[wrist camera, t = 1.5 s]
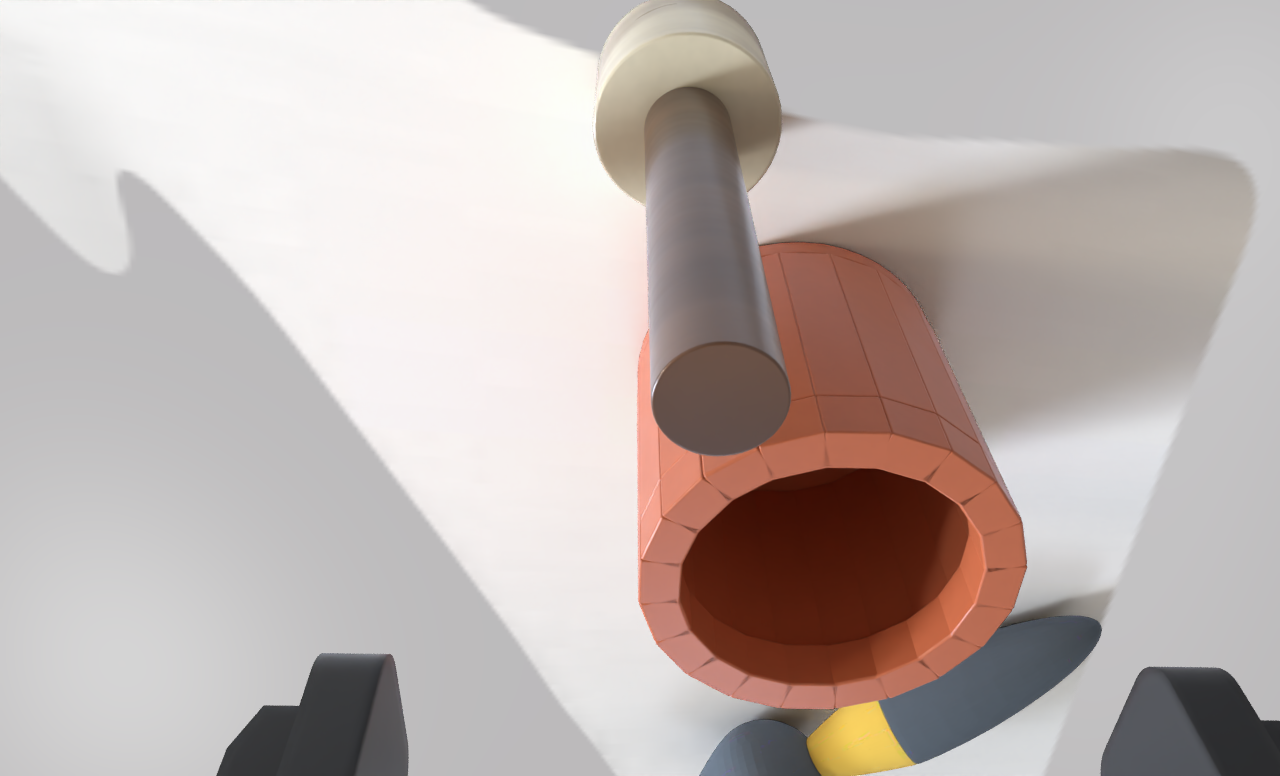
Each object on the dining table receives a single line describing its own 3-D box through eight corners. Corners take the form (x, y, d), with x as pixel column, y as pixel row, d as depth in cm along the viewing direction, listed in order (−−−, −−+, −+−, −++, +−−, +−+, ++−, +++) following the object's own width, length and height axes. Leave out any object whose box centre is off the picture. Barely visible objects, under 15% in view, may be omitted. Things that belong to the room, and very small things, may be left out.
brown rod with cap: (597, -11, 28) (564, 261, 15) (773, -7, 28) (899, 268, 15) (597, 157, 30) (569, 515, 17) (757, 161, 31) (852, 520, 17)
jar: (641, 237, 32) (644, 428, 24) (959, 244, 32) (1071, 436, 24) (634, 484, 38) (634, 707, 29) (904, 488, 38) (980, 711, 30)
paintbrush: (1048, 547, 40) (1096, 647, 35) (1101, 617, 42) (1152, 719, 38) (644, 746, 46) (645, 849, 42) (708, 797, 49) (715, 900, 44)
